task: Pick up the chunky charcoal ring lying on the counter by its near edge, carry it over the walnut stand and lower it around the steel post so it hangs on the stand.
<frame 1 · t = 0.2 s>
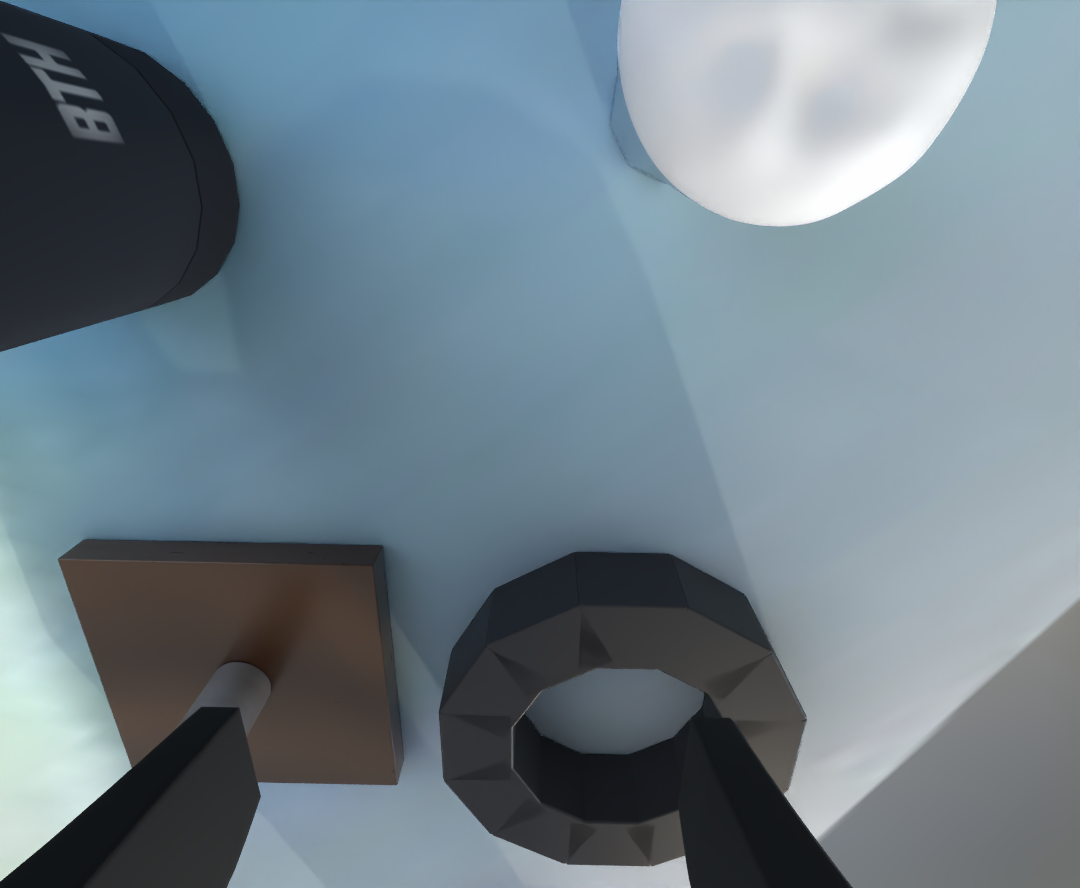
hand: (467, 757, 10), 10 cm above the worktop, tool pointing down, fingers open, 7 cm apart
black thermos flask: (121, 180, 16), on the worktop
stand: (258, 658, 22), on the worktop
ring: (611, 686, 22), on the worktop
milkshake: (659, 103, 15), on the worktop
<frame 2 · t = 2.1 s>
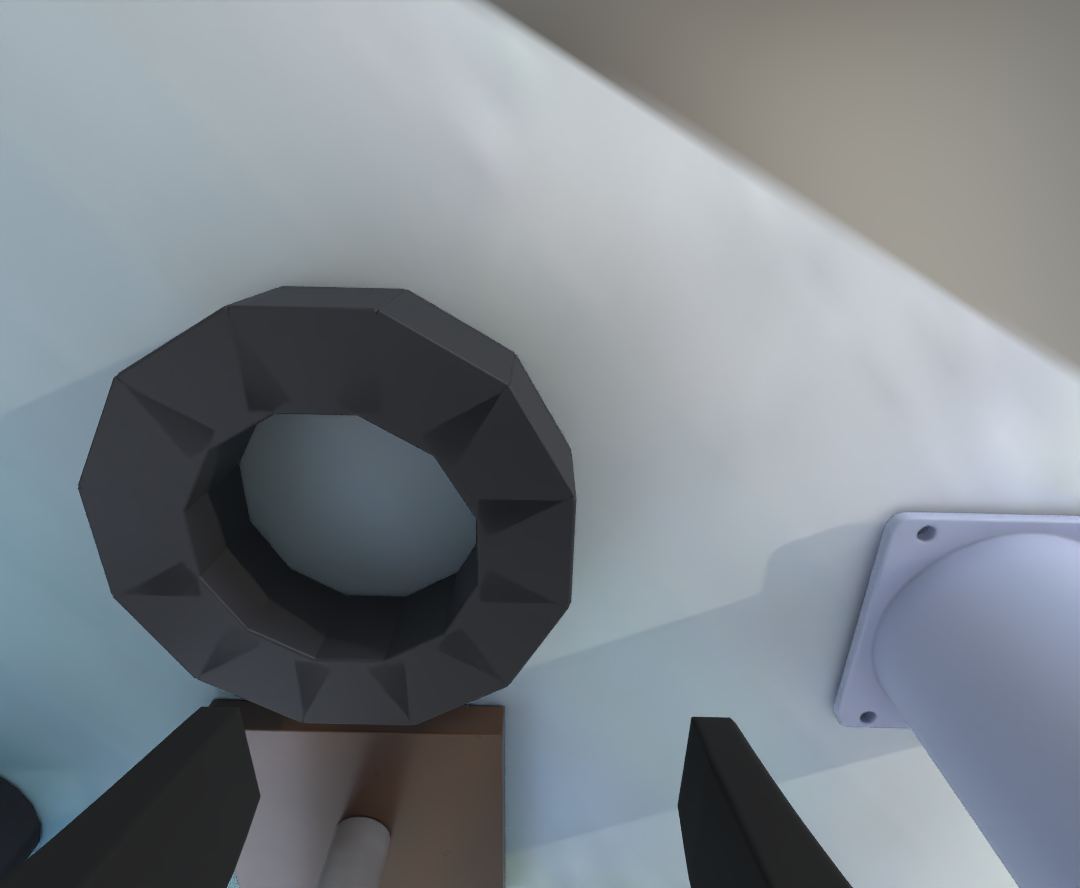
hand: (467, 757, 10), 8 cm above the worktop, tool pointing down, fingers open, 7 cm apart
stand: (371, 802, 22), on the worktop
ring: (365, 495, 17), on the worktop
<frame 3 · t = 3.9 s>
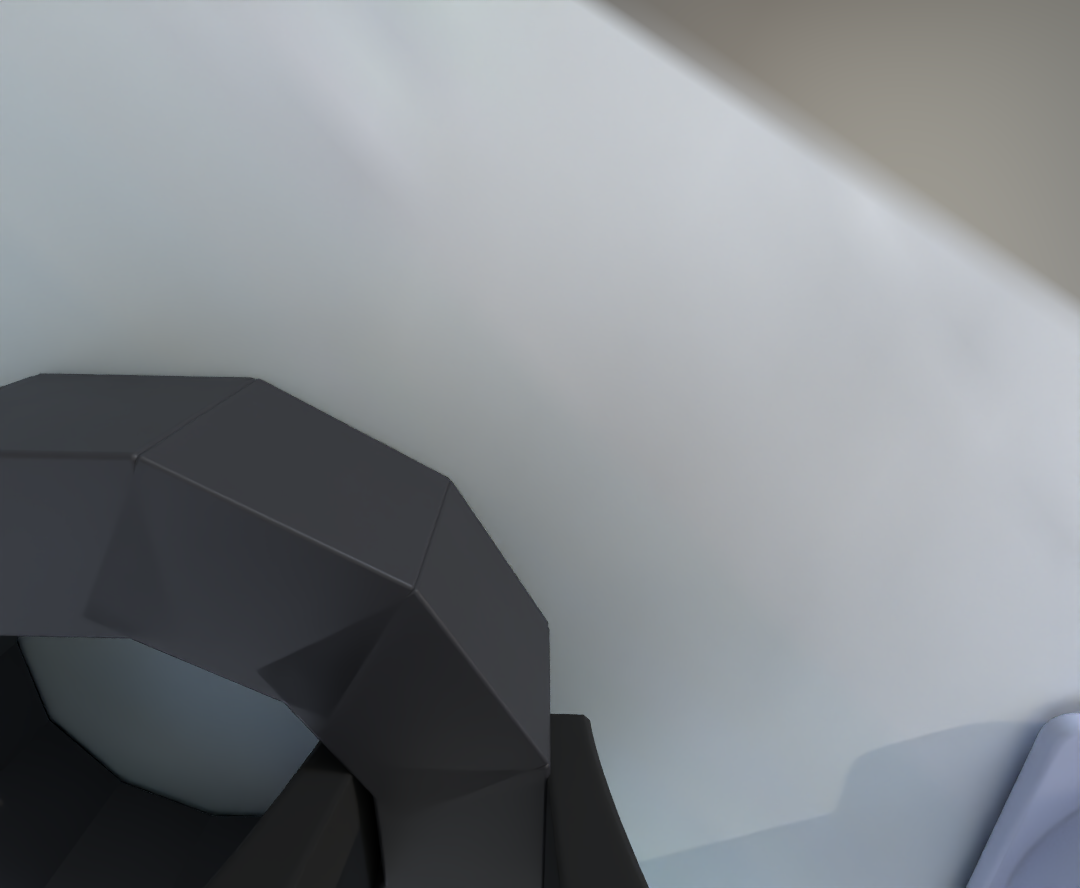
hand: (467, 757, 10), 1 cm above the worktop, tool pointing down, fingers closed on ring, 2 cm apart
ring: (225, 685, 11), on the worktop, touching gripper
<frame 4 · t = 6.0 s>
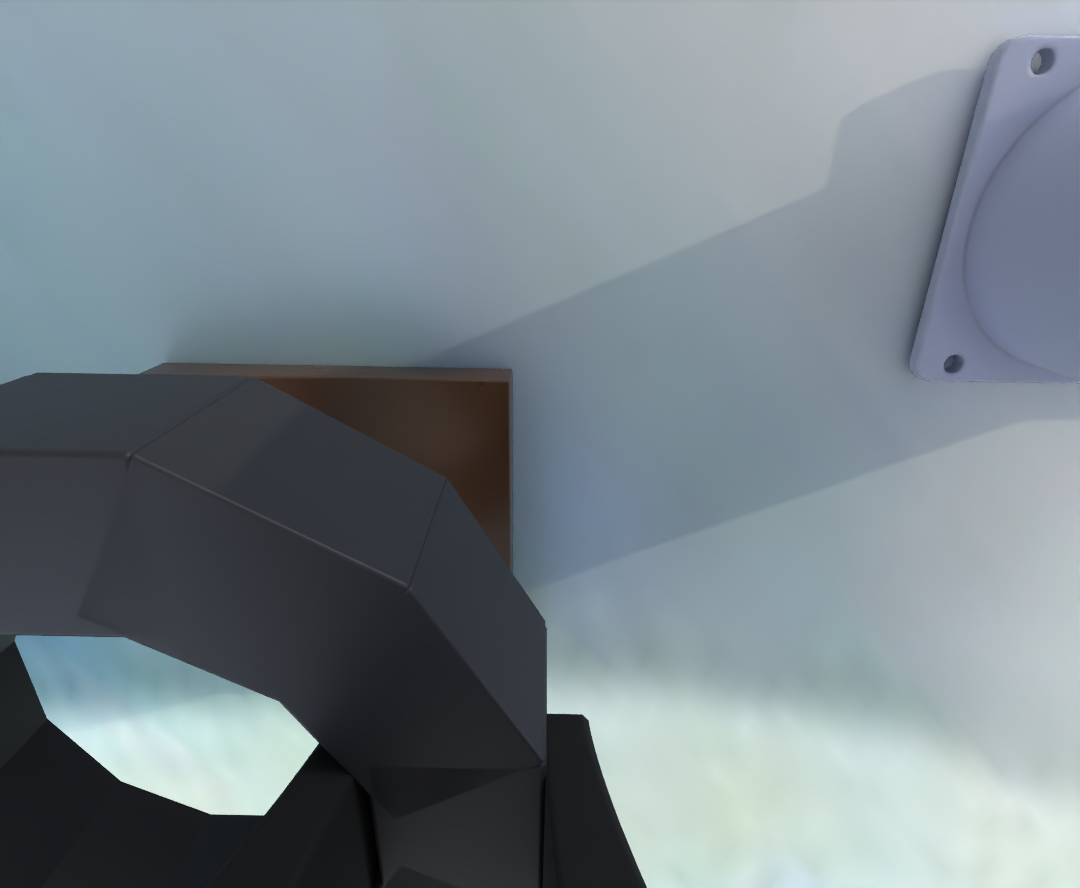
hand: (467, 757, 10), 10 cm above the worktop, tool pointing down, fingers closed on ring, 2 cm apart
stand: (356, 518, 19), on the worktop
ring: (223, 684, 11), point 8 cm above the worktop, touching gripper
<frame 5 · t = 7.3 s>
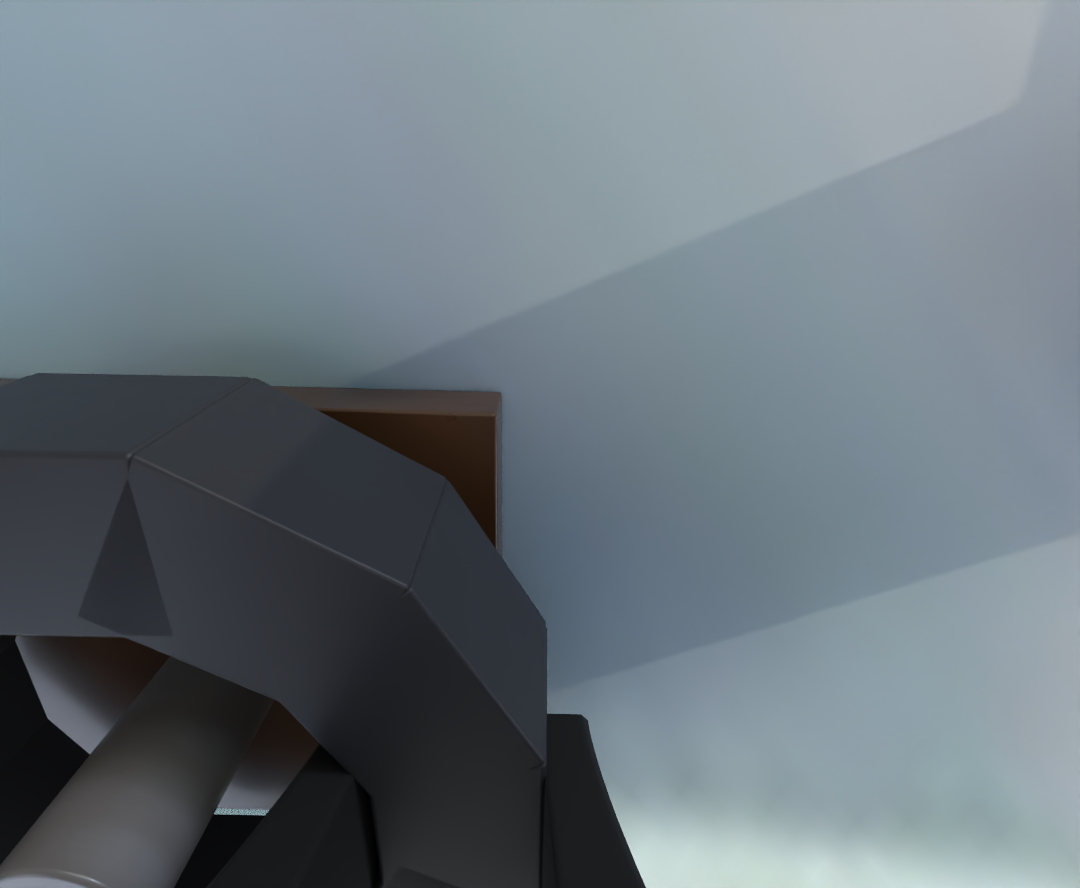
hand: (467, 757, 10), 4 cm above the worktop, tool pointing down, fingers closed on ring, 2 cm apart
stand: (273, 603, 13), on the worktop
ring: (223, 684, 11), point 2 cm above the worktop, touching gripper
when the fingers open (3 cm above the worktop, at t = 8.2 s): ring stays where it is, resting on stand.
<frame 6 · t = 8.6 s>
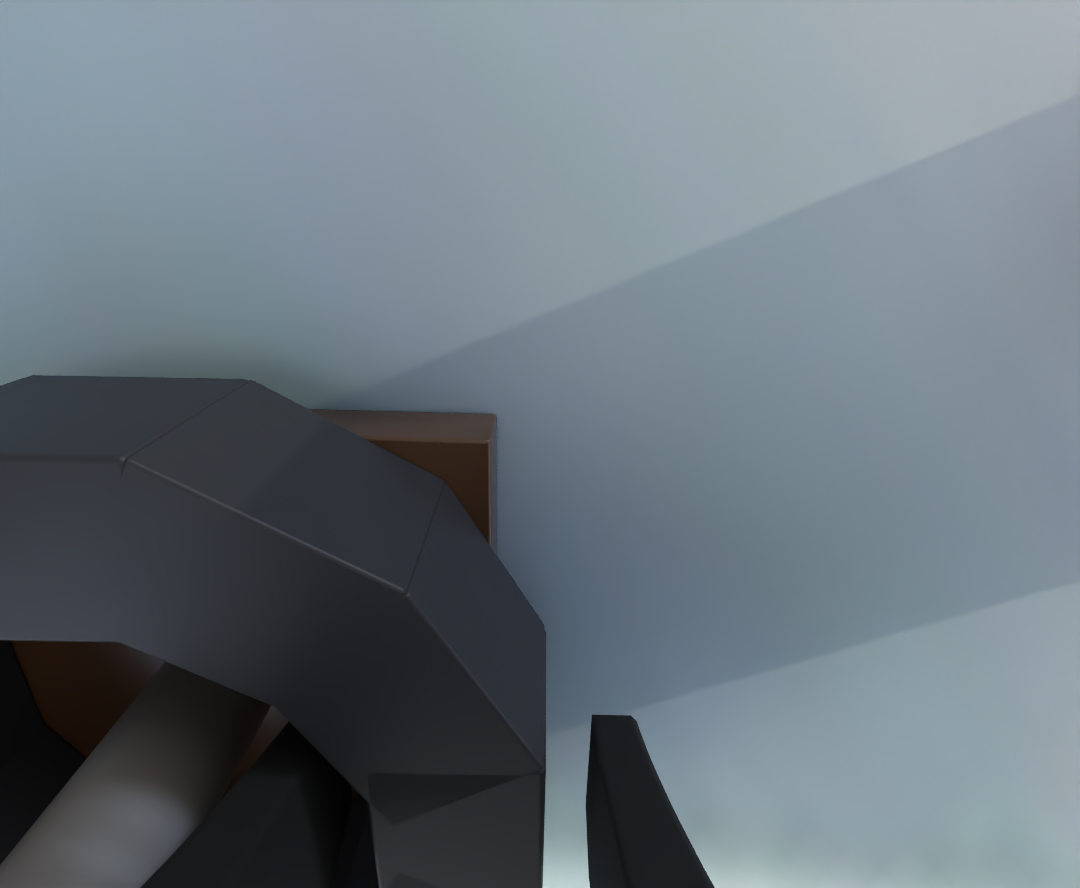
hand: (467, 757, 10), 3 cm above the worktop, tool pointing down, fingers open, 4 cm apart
stand: (248, 640, 12), on the worktop
ring: (220, 688, 11), point 1 cm above the worktop, touching stand
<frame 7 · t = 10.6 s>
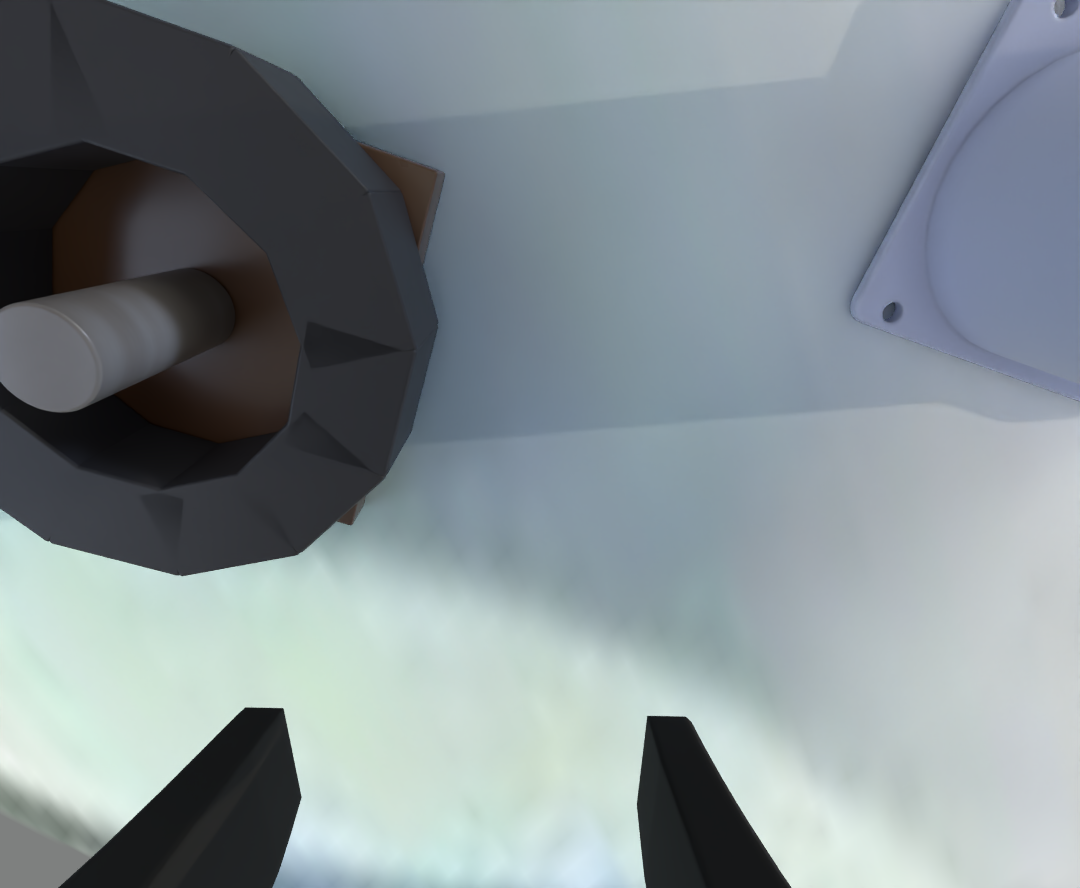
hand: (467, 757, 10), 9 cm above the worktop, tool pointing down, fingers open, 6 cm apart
stand: (220, 300, 16), on the worktop
ring: (197, 310, 15), point 1 cm above the worktop, touching stand
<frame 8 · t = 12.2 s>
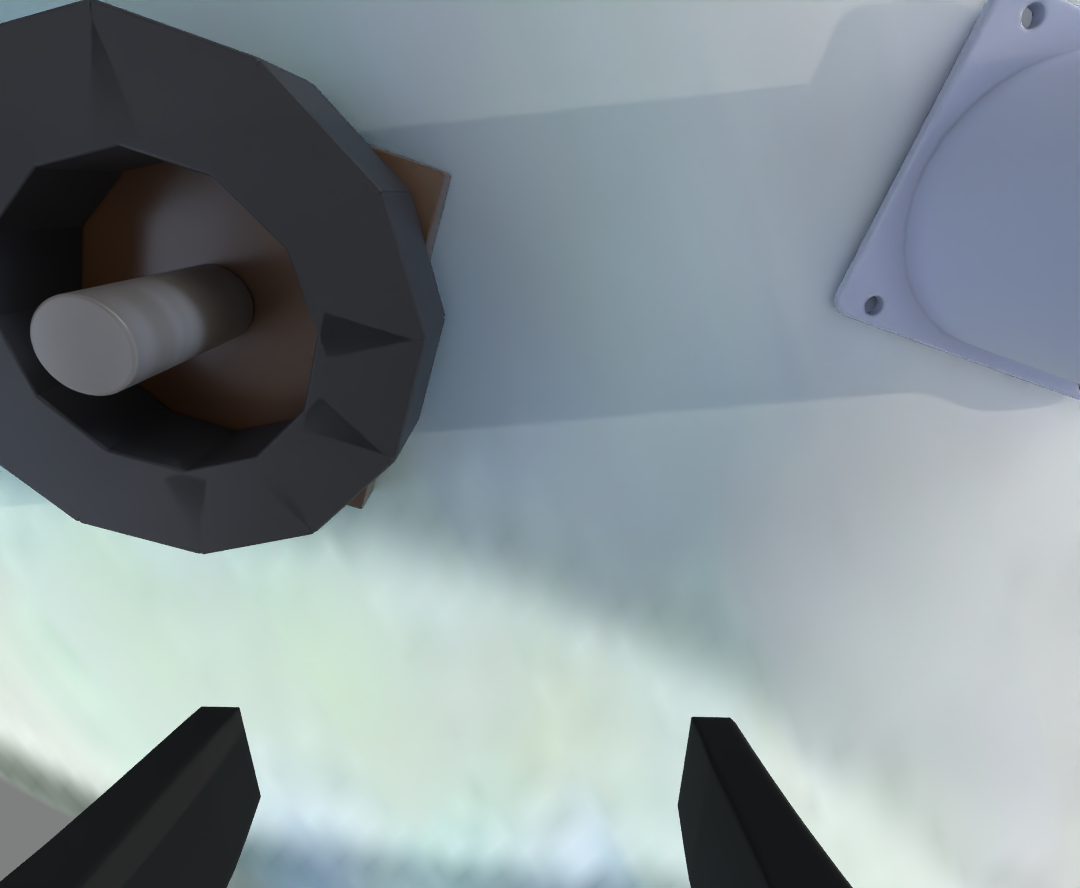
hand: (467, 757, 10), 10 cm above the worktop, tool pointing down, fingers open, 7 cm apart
stand: (238, 295, 17), on the worktop
ring: (218, 304, 16), point 1 cm above the worktop, touching stand
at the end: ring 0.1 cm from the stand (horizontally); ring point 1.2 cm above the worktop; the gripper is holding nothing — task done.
